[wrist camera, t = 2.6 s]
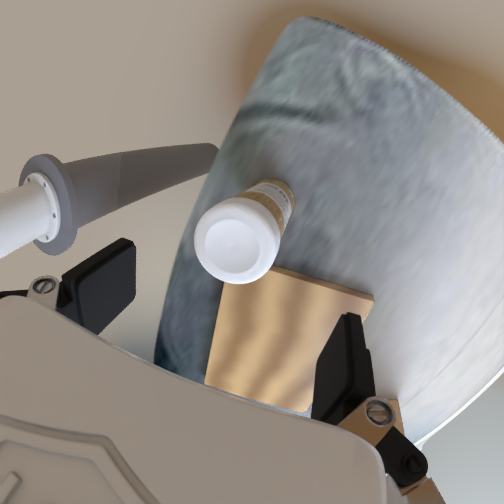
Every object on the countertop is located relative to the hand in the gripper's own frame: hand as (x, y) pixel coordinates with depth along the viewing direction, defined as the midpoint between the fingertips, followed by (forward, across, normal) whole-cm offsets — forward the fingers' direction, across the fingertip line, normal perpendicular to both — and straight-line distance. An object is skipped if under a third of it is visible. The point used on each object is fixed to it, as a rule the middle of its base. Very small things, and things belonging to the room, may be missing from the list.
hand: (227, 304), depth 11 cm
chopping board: (+17, -4, +17) cm, 25 cm away
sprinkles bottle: (+17, +1, 0) cm, 17 cm away
